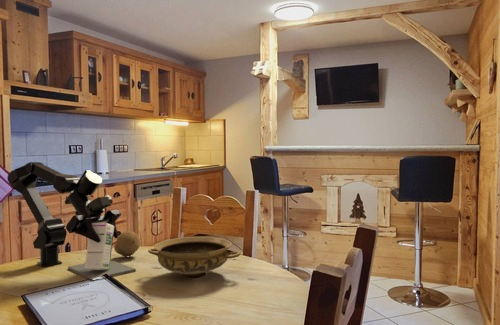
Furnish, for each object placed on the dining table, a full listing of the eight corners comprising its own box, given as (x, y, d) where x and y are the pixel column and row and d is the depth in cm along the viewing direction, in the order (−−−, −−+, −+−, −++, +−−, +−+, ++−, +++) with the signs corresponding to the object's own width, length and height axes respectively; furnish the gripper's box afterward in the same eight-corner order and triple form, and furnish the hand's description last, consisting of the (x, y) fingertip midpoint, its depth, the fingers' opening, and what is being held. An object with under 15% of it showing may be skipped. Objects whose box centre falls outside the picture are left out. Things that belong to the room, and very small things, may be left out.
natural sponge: (145, 256, 144) (145, 230, 144) (124, 261, 137) (124, 233, 137) (132, 253, 150) (132, 228, 150) (111, 257, 143) (111, 231, 143)
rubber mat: (68, 268, 128) (68, 266, 128) (108, 261, 138) (108, 258, 138) (93, 280, 114) (93, 278, 114) (135, 271, 124) (135, 268, 124)
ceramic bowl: (130, 284, 110) (129, 250, 110) (165, 263, 133) (165, 235, 133) (230, 290, 103) (229, 254, 103) (249, 267, 127) (248, 237, 127)
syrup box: (101, 269, 117) (108, 222, 122) (83, 268, 118) (90, 222, 123) (109, 269, 123) (115, 225, 127) (92, 269, 123) (98, 225, 128)
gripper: (72, 189, 117) (98, 227, 112) (116, 186, 134) (141, 218, 129) (54, 214, 120) (80, 251, 115) (100, 208, 137) (124, 240, 132)
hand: (108, 239), depth 123 cm, fingers closed on syrup box, 7 cm apart
